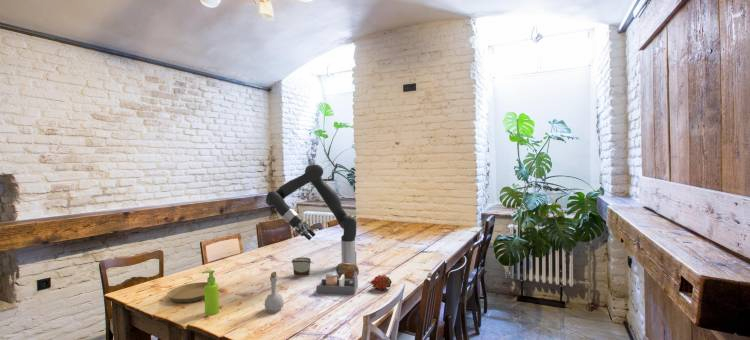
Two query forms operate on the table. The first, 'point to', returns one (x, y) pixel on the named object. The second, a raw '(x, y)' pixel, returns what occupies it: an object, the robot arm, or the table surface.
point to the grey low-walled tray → (339, 287)
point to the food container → (301, 266)
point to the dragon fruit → (381, 282)
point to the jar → (331, 279)
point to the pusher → (341, 281)
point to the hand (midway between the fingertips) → (312, 237)
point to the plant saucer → (188, 292)
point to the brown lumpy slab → (347, 270)
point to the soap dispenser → (211, 294)
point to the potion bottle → (273, 297)
